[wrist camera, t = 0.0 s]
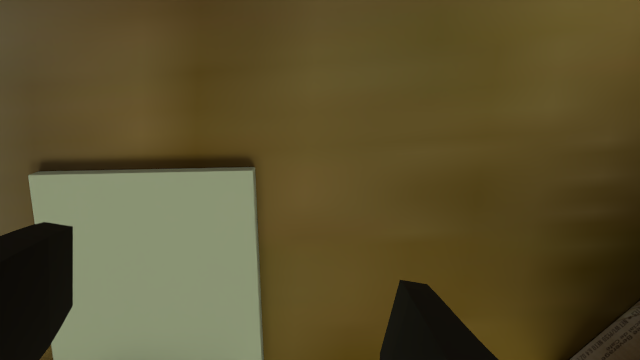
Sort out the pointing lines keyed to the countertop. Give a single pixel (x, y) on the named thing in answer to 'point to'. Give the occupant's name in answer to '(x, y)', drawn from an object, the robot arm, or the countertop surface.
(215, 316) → the rubber pad
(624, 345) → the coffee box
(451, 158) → the countertop surface
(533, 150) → the countertop surface
